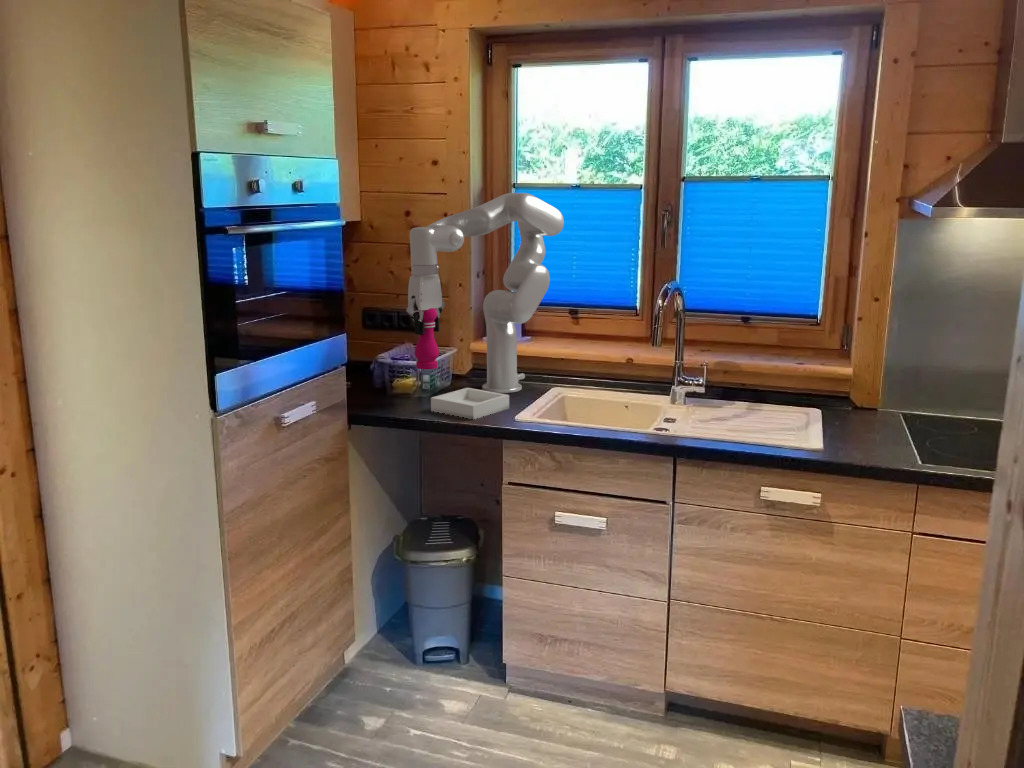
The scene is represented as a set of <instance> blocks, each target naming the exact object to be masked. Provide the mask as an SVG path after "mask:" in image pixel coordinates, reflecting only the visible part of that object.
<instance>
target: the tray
mask: <svg viewBox="0 0 1024 768" xmlns="http://www.w3.org/2000/svg"><path fill="white" fill-rule="evenodd" d="M509 409H510V395H509V394H507V393H495V392H489V391H484V390H483V389H477V388H472V387H464V388H462V389H457V390H455V391H454V390H453V391H450V392H447V393H443V394H439V395H436V396H432V397H430V411H431V412H433V411H434V413H437V412H439V414H442V413H445V414H444V415H447V414H450V415H449V416H452V415H454V416H453V417H457V416H459V417H458V418H462V417H464V418H463V419H466V418H468V419H467V420H471V419H473V420H472V421H474V419H475V420H478V419H480V418H484V417H487V416H490V414H491V415H493V414H496V413H499V412H503V411H506V410H509ZM483 416H484V417H483ZM477 418H478V419H477Z"/></svg>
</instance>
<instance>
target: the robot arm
mask: <svg viewBox="0 0 1024 768" xmlns="http://www.w3.org/2000/svg"><path fill="white" fill-rule="evenodd" d="M564 220H565V219H564V216H563V214H562V212H561V211H560V210H559V209H558V208H556V207H555V206H553V205H551V204H550V203H548V202H545V201H544V200H542V199H540V198H538V197H537V196H535V195H533V194H530V193H527V192H508V193H504V194H501V195H500V196H497V197H495V198H493V199H491V200H489V201H487V202H484V203H483V204H480V205H478V206H476V207H473V208H469V209H467V210H464V211H461V212H457V213H455V214H451V215H449V216H446V217H443V218H440V219H439V220H436V221H434V222H433V223H430V224H428V225H427V226H419V227H413V228H411V229H410V231H409V241H410V242H409V245H410V246H409V248H410V264H411V268H410V269H411V276H409V281H408V292H407V302H408V303H407V308H406V312H407V313H408V315H409V316H410V317H411V318H412V321H413V322H414V334H415V335H419V336H420V335H424V334H425V333H424V321H422V319H423V314H424V311H426V310H428V309H430V308H435V310H436V312H437V317H436V319H435V320H434V322H435V327H434V330H433V332H437V333H438V332H440V318H441V315H442V312H443V309H444V308H445V306H446V303H445V302H444V300H443V295H442V294H443V292H442V286H441V279H440V276H439V272H438V271H439V266H438V252H445V253H446V252H447V253H453V252H456V251H458V250H459V249H461V248H462V246H463V244H464V243H465V238H471V237H472V238H473V237H480V236H484V235H488V234H490V233H492V232H494V231H496V230H498V229H500V228H502V227H503V226H506V225H508V224H510V223H513V222H517V227H518V231H519V235H520V245H519V247H518V250H517V251H516V254H515V255H514V256H513V258H512V260H511V262H510V264H509V265H508V267H507V268H506V270H505V273H504V275H503V279H502V280H503V282H502V283H503V285H504V287H505V288H506V289H508V290H505V289H504V290H503V289H495V290H492V291H490V292H488V294H486V296H485V297H484V300H483V303H482V305H483V307H482V309H483V315H484V321H485V326H486V327H485V328H486V382H485V383H484V384H482V386H481V387H482V388H481V390H483V391H489V392H495V393H500V394H510V393H517V392H520V391H522V390H523V388H522V384H521V383H519V381H520V380H524V379H525V378H526V375H525V373H523V372H522V373H518V358H517V357H518V347H517V346H518V334H517V328H516V325H515V324H520V325H521V324H525V323H527V322H528V321H529V320H531V318H532V317H533V315H534V313H536V311H537V309H538V307H539V306H540V304H541V301H543V299H544V297H545V294H546V293H547V292H548V289H549V286H550V281H551V278H550V272H549V270H548V269H547V267H546V266H545V265H543V264H542V263H543V261H544V259H545V255H546V246H545V242H544V238H543V236H545V237H553V236H556V235H558V234H560V233H561V231H562V230H563V228H564V224H565V223H564V222H565V221H564ZM418 312H419V315H418Z"/></svg>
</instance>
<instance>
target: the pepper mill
mask: <svg viewBox="0 0 1024 768" xmlns="http://www.w3.org/2000/svg"><path fill="white" fill-rule="evenodd" d="M418 315H419V312H418ZM436 317H437V312H436V310H435V308H430V309H428V310H426V311H424V314H423V319H422V321H424V333H425V334H424V335H419V337H418V341H417V343H416V345H415V348H414V356H415V358H416V360H417V361H416V362H415V364H416V366H415V367H416V369H420V370H435V369H437V368H438V361H437V359H438V357H439V355H440V350H439V346H438V344H437V342H436V340H435V336H434V334H435V333H434V331H433V330H434V327H435V322H434V320H435V319H436Z"/></svg>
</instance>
